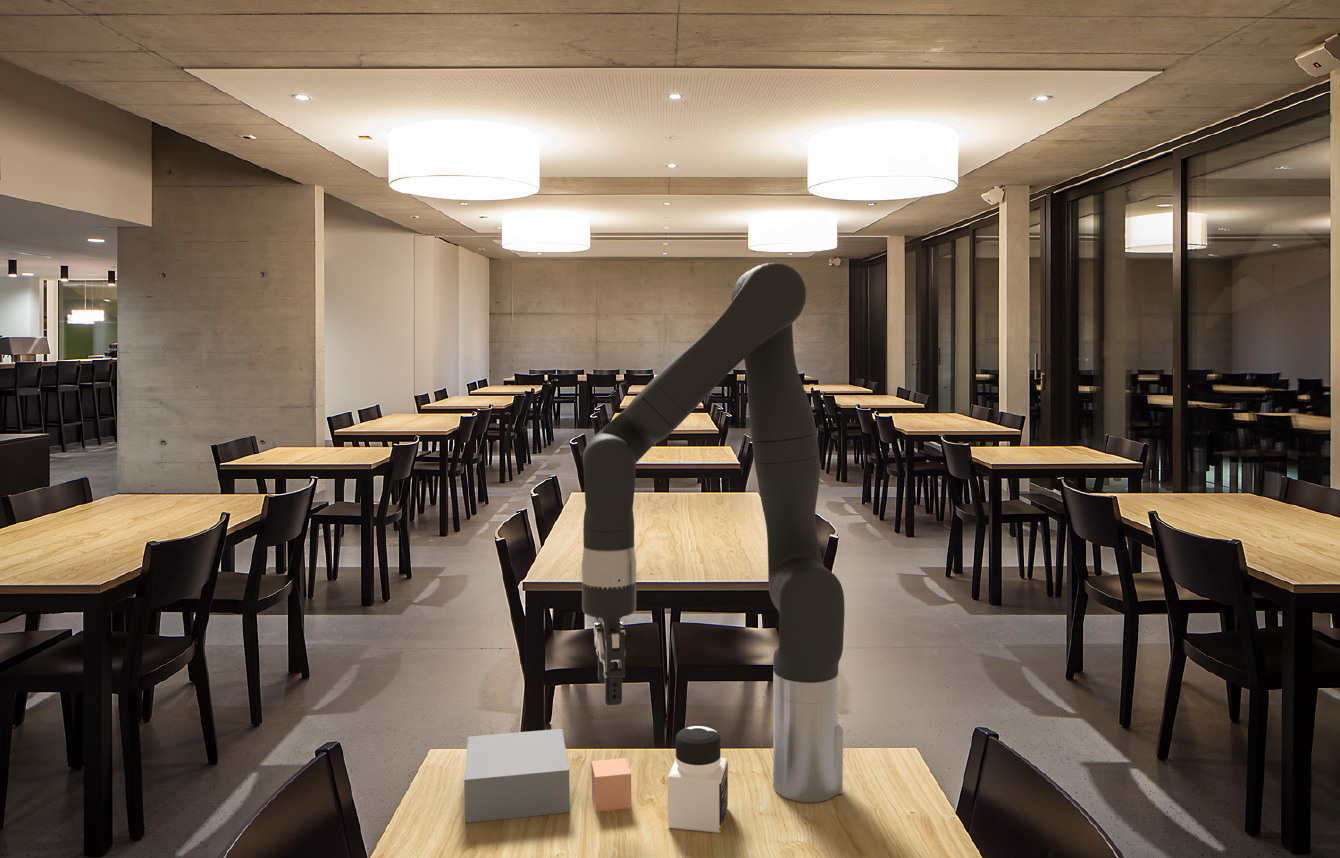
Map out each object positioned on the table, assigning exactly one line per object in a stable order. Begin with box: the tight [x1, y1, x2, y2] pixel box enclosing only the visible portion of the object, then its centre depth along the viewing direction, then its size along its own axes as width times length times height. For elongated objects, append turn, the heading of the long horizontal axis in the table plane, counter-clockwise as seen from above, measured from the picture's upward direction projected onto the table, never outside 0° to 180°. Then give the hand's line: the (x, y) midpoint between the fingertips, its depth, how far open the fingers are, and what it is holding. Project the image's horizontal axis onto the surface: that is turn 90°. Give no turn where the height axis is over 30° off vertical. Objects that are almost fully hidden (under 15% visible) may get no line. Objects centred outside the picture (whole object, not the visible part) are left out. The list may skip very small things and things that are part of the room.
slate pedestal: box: [463, 728, 571, 824], centre depth 125 cm, size 14×14×6 cm
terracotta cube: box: [590, 757, 633, 813], centre depth 123 cm, size 5×5×5 cm
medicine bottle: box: [667, 725, 729, 834], centre depth 118 cm, size 7×7×12 cm
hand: (609, 692), depth 122 cm, fingers open, 8 cm apart
